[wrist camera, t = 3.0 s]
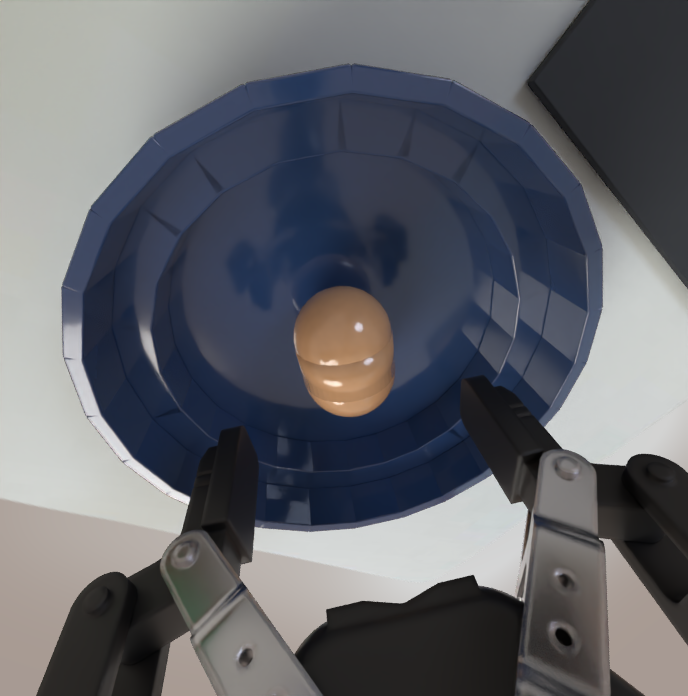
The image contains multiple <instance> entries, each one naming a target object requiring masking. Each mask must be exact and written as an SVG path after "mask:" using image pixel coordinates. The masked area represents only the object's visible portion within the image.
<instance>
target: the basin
mask: <svg viewBox="0 0 688 696" xmlns="http://www.w3.org/2000/svg"><path fill="white" fill-rule="evenodd" d="M62 285H63V286H62V287H61V290H62V336H63V357H64V361H65V363H66V366H67V368H68V371H69V374H70V376H71V379H72V381H73V384H74V387H75V389H76V392H77V394H78V397H79V400H80V402H81V405H82V407H83V410H84V413H85V415H86V416H87V418H88V420H89V421H90V422H91V423H92V425H93V426H94V427H95V428H96V430H97V431H98V432H99V434H100V435H101V436H102V437H103V439H104V440H105V441H106V442H107V444H108V445H109V446H110V447H111V449H112V450H113V451H114V452H115V454H116V455H117V456H118V458H119V459H120V460H121V461H123V463H124V464H125V465H127V466H128V467H129V468H131V469H132V470H133V471H135V472H136V473H137V474H139V475H140V476H141V477H143V478H144V479H145V480H147V481H148V482H149V483H151V484H152V485H153V486H155V487H156V488H157V489H159V490H160V491H161V492H163V493H164V494H166V495H167V496H169V497H171V498H174V499H176V500H178V501H180V502H182V503H185V504H187V505H189V501H190V497H191V494H192V490H193V488H194V482H195V478H196V477H197V475H196V474H197V470H198V466H199V462H200V460H201V458H202V457H203V456H204V454H205V453H206V451H207V450H208V448H209V447H214V446H218V441H219V436H220V432H221V430H223V429H228V428H232V427H237V426H242V425H243V426H244V427H245V428H246V430H247V433H248V435H249V437H250V440H251V442H252V444H253V446H254V449H255V451H256V453H257V457H258V462H259V476H258V489H257V502H256V515H255V527H259V528H268V529H281V530H294V531H307V532H308V531H309V532H314V531H327V530H340V529H353V528H359V527H363V526H368V525H372V524H377V523H381V522H386V521H390V520H395V519H399V518H403V517H406V516H409V515H411V514H414V513H416V512H419V511H422V510H424V509H427V508H430V507H432V506H435V505H437V504H440V503H443V502H445V501H446V500H449V499H451V498H452V497H454V496H456V495H458V494H459V493H461V492H463V491H465V490H467V489H468V488H470V487H472V486H474V485H475V484H477V483H479V482H481V481H482V480H484V479H486V478H487V477H489V476H491V475H492V474H493V473H492V471H491V469H490V468H489V466H488V465H487V463H486V461H485V460H484V458H483V456H482V455H481V453H480V451H479V450H478V448H477V446H476V445H475V443H474V441H473V440H472V438H471V436H470V435H469V433H468V431H467V430H466V428H465V426H464V424H463V422H462V419H461V415H460V392H461V381H462V379H465V378H470V377H475V376H479V375H484V376H485V377H486V378H487V379H488V380H489V381H490V383H491V384H492V385H493V386H494V387H497V386H503V387H504V388H506V389H508V390H509V391H511V392H513V393H515V395H516V396H517V397H518V398H519V399H520V400H521V402H522V403H523V404H524V406H526V407H527V408H528V410H529V411H530V412H531V414H532V415H534V417H535V418H536V419H537V420H538V421H539V422H540V423H541V425H542V426H543V427H545V426H546V424H547V423H548V422H549V421H550V420H551V419H552V418H553V416H554V415H555V414H556V413H557V412H558V411H559V410H560V408H561V407H562V405H563V403H564V401H565V400H566V398H567V396H568V394H569V393H570V391H571V389H572V387H573V386H574V384H575V382H576V380H577V379H578V377H579V375H580V373H581V372H582V370H583V368H584V366H585V365H586V362H587V360H588V357H589V353H590V350H591V346H592V343H593V340H594V336H595V333H596V329H597V326H598V322H599V319H600V315H601V312H602V307H603V249H602V244H601V241H600V238H599V235H598V232H597V229H596V226H595V223H594V220H593V217H592V214H591V211H590V209H589V206H588V203H587V200H586V197H585V194H584V191H583V188H582V185H581V184H580V183H579V181H578V180H577V178H576V177H575V176H574V175H573V174H572V172H571V171H570V170H569V169H568V167H567V166H566V165H565V164H564V163H563V161H562V160H561V159H560V158H559V157H558V155H557V154H556V153H555V152H554V151H553V149H552V148H551V147H550V146H549V145H548V143H547V142H546V141H545V140H544V138H543V137H542V136H541V135H540V134H539V132H538V131H537V130H536V129H535V128H534V126H533V125H531V124H530V123H529V122H528V121H526V120H524V119H523V118H521V117H519V116H517V115H515V114H514V113H512V112H510V111H508V110H507V109H505V108H503V107H501V106H499V105H498V104H496V103H494V102H492V101H491V100H489V99H487V98H485V97H483V96H482V95H480V94H478V93H476V92H474V91H473V90H471V89H469V88H467V87H466V86H464V85H462V84H460V83H458V82H457V81H455V80H452V81H451V79H449V78H443V77H436V76H430V75H424V74H417V73H411V72H405V71H398V70H392V69H386V68H380V67H373V66H367V65H361V64H352V65H351V64H343V65H338V66H332V67H327V68H321V69H316V70H310V71H305V72H299V73H294V74H289V75H283V76H278V77H272V78H267V79H261V80H256V81H250V82H247V83H245V85H244V84H241V85H239V86H237V87H236V88H234V89H232V90H230V91H229V92H227V93H225V94H223V95H222V96H220V97H218V98H216V99H215V100H213V101H211V102H209V103H208V104H206V105H204V106H202V107H200V108H199V109H197V110H195V111H193V112H192V113H190V114H188V115H186V116H185V117H183V118H181V119H179V120H178V121H176V122H174V123H172V124H171V125H169V126H167V127H165V128H164V129H162V130H160V131H158V132H156V133H155V134H154V135H153V136H152V137H150V138H149V139H148V140H147V141H146V143H145V144H144V145H143V146H142V147H141V148H140V150H139V151H138V152H137V153H136V154H135V155H134V157H133V158H132V159H131V160H130V161H129V162H128V164H127V165H126V166H125V167H124V168H123V169H122V171H121V172H120V173H119V174H118V175H117V176H116V178H115V179H114V180H113V181H112V182H111V183H110V185H109V186H108V187H107V188H106V189H105V190H104V192H103V193H102V194H101V195H100V196H99V197H98V199H97V200H96V201H95V202H94V203H93V204H92V206H91V209H90V210H89V211H88V214H87V217H86V220H85V222H84V225H83V228H82V231H81V233H80V236H79V239H78V242H77V245H76V247H75V250H74V253H73V256H72V258H71V261H70V264H69V267H68V270H67V272H66V275H65V278H64V281H63V284H62ZM338 285H345V286H353V287H357V288H360V289H362V290H364V291H367V292H368V293H370V294H371V295H372V296H374V297H375V298H376V299H378V301H379V302H380V303H381V305H382V306H383V307H384V308H385V310H386V312H387V314H388V316H389V319H390V322H391V327H392V334H393V345H394V356H395V366H396V370H395V381H394V384H393V387H392V390H391V392H390V394H389V395H388V397H387V398H386V400H385V401H384V402H383V403H382V404H381V405H380V406H379V407H378V408H376V409H375V410H373V411H372V412H370V413H368V414H366V415H362V416H358V417H341V416H337V415H334V414H331V413H329V412H327V411H325V410H324V409H322V408H321V407H320V406H319V405H318V404H316V403H315V401H314V400H313V399H312V398H311V396H310V394H309V393H308V391H307V388H306V386H305V383H304V379H303V376H302V372H301V369H300V365H299V362H298V358H297V355H296V351H295V347H294V341H293V329H294V323H295V320H296V317H297V315H298V313H299V311H300V309H301V307H302V306H303V304H304V303H305V302H306V301H307V300H308V299H309V298H310V297H311V296H313V295H314V294H315V293H317V292H319V291H321V290H323V289H325V288H328V287H332V286H338Z"/></svg>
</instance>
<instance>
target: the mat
mask: <svg viewBox="0 0 688 696" xmlns="http://www.w3.org/2000/svg"><path fill="white" fill-rule="evenodd" d="M527 83H528V85H529V86H530V87H531V89H532V90H533V91H534V92H535V94H536V95H537V96H538V98H539V99H540V100H541V101H542V103H543V104H544V105H545V107H546V108H547V109H548V110H549V112H550V113H551V114H552V115H553V117H554V118H555V119H556V121H557V122H558V123H559V124H560V126H561V127H562V128H563V130H564V131H565V132H566V133H567V135H568V136H569V137H570V139H571V140H572V141H573V142H574V144H575V145H576V146H577V147H578V149H579V150H580V151H581V153H582V154H583V155H584V156H585V158H586V159H587V160H588V162H589V163H590V164H591V165H592V167H593V168H594V169H595V171H596V172H597V173H598V174H599V176H600V177H601V178H602V179H603V181H604V182H605V183H606V185H607V186H608V187H609V188H610V190H611V191H612V192H613V194H614V195H615V196H616V197H617V199H618V200H619V201H620V203H621V204H622V205H623V206H624V208H625V209H626V210H627V211H628V213H629V214H630V215H631V217H632V218H633V219H634V220H635V222H636V223H637V224H638V226H639V227H640V228H641V229H642V231H643V232H644V233H645V235H646V236H647V237H648V238H649V240H650V241H651V242H652V243H653V245H654V246H655V247H656V249H657V250H658V251H659V252H660V254H661V255H662V256H663V258H664V259H665V260H666V261H667V263H668V264H669V265H670V267H671V268H672V269H673V270H674V272H675V273H676V274H677V275H678V277H679V278H680V279H681V281H682V282H683V283H684V284H685V286H686V287H687V288H688V0H590V1H589V2H588V4H587V5H586V6H585V8H584V9H583V10H582V12H581V13H580V14H579V15H578V17H577V18H576V19H575V21H574V22H573V23H572V24H571V26H570V27H569V28H568V30H567V31H566V32H565V34H564V35H563V36H562V37H561V39H560V40H559V41H558V43H557V44H556V45H555V46H554V48H553V49H552V50H551V52H550V53H549V54H548V56H547V57H546V58H545V59H544V61H543V62H542V63H541V65H540V66H539V67H538V68H537V70H536V71H535V72H534V74H533V75H532V76H531V78H530V79H529V80H528V81H527Z"/></svg>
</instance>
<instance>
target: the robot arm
mask: <svg viewBox="0 0 688 696" xmlns="http://www.w3.org/2000/svg"><path fill="white" fill-rule="evenodd" d="M460 415H461V419H462V422H463V424H464V426H465V428H466V430H467V431H468V433H469V435H470V436H471V438H472V440H473V441H474V443H475V445H476V446H477V448H478V450H479V451H480V453H481V455H482V456H483V458H484V460H485V461H486V463H487V465H488V466H489V468H490V469H491V471H492V473H493V474H494V476H495V478H496V479H497V481H498V483H499V484H500V486H501V488H502V489H503V491H504V493H505V494H506V496H507V498H508V499H509V501H510V503H511V504H513V503H517V502H522V501H523V502H524V504H525V505H526V507H527V509H528V512H527V517H526V525H525V533H524V540H523V547H522V555H521V562H520V569H519V574H518V580H517V586H516V591H515V597H513V596H511V595H509V594H507V593H505V592H502V591H499V590H496V589H493V588H489V587H484V586H478V584H477V582H476V579H475V577H474V575H471V576H467V577H463V578H459V579H454V580H450V581H446V582H441V583H438V584H436V585H434V586H432V587H431V588H429V589H427V590H426V591H424V592H422V593H421V594H419V595H418V596H416V597H414V598H412V599H411V600H409V601H407V602H405V603H401V604H399V603H385V602H384V603H383V602H371V601H360V602H356V603H352V604H348V605H343V606H339V607H335V608H331V609H327V610H326V613H327V622H325V623H324V624H322V625H321V626H319V627H318V628H317V629H316V630H314V631H313V632H312V633H311V634H310V635H309V636H308V637H307V638H306V639H305V640H304V642H303V643H302V644H301V645H300V647H299V648H298V650H297V651H296V653H295V654H293V652H292V651H291V649H290V648H289V647H288V645H287V644H286V642H285V641H284V640H283V638H282V637H281V635H280V634H279V633H278V631H277V630H276V628H275V627H274V625H273V624H272V623H271V621H270V620H269V619H268V617H267V616H266V614H265V613H264V611H263V610H262V609H261V607H260V606H259V604H258V603H257V601H256V600H255V599H254V597H253V596H252V594H251V593H250V592H249V590H248V589H247V587H246V586H245V585H244V584H243V582H242V581H241V579H240V578H239V576H240V566H241V564H245V563H249V562H252V553H253V540H254V527H255V515H256V502H257V489H258V476H259V462H258V457H257V453H256V451H255V449H254V446H253V444H252V442H251V440H250V437H249V435H248V433H247V430H246V428H245V427H244V426H243V425H242V426H237V427H232V428H228V429H223V430H221V432H220V436H219V441H218V446H214V447H209V448H208V450H207V451H206V453H205V454H204V456H203V457H202V458H201V460H200V462H199V466H198V470H197V474H196V475H197V477H196V478H195V482H194V488H193V490H192V494H191V497H190V501H189V505H188V509H187V513H186V517H185V521H184V525H183V529H182V532H181V535H180V536H179V537H177V538H176V539H175V540H174V541H172V543H171V544H170V545H169V546H168V547H167V549H166V550H165V552H164V554H163V556H162V558H161V559H160V560H158V561H157V562H155V563H154V564H152V565H150V566H148V567H146V568H144V569H143V570H141V571H139V572H137V573H135V574H134V575H132V576H130V577H128V578H127V577H126V576H125V575H124V574H122V573H120V572H110V573H107V574H104V575H102V576H100V577H98V578H97V579H95V580H94V581H92V582H91V583H90V584H89V585H88V586H87V587H86V588H85V589H84V590H83V591H82V592H81V593H80V594H79V596H78V597H77V599H76V600H75V602H74V603H73V605H72V607H71V609H70V612H69V614H68V617H67V620H66V622H65V625H64V627H63V630H62V632H61V635H60V637H59V640H58V642H57V645H56V647H55V650H54V652H53V655H52V657H51V660H50V662H49V665H48V667H47V670H46V673H45V675H44V677H43V680H42V682H41V685H40V687H39V690H38V692H37V695H36V696H161V693H162V687H163V682H164V676H165V670H166V664H167V659H168V653H169V648H170V642H172V641H173V640H175V639H177V638H178V637H180V636H182V635H183V634H185V633H186V632H188V631H190V632H191V635H192V636H191V638H190V640H191V643H192V646H193V648H194V650H195V652H196V654H197V656H198V658H199V660H200V662H201V664H202V666H203V668H204V670H205V672H206V674H207V676H208V678H209V680H210V682H211V684H212V686H213V688H214V690H215V692H216V694H217V696H645V695H643V694H642V693H641V692H639V691H638V690H637V689H636V688H634V687H633V686H632V685H630V684H629V683H628V682H626V681H625V680H624V679H623V678H621V677H620V676H619V675H617V674H616V673H615V672H613V671H612V670H611V669H610V665H609V664H610V662H609V636H608V610H607V585H606V558H605V547H604V543H603V541H601V540H599V538H605V539H611V540H612V541H613V543H614V544H615V546H616V547H617V548H618V550H619V551H620V553H621V554H622V555H623V557H624V558H625V559H626V561H627V562H628V564H629V565H630V566H631V568H632V569H633V570H634V572H635V573H636V575H637V576H638V577H639V579H640V580H641V582H642V583H643V584H644V586H645V587H646V588H647V590H648V591H649V592H650V594H651V595H652V597H653V598H654V599H655V601H656V602H657V604H658V605H659V606H660V608H661V609H662V611H663V612H664V613H665V615H666V616H667V617H668V619H669V620H670V622H671V623H672V624H673V626H674V627H675V628H676V630H677V631H678V633H679V634H680V635H681V637H682V638H683V640H684V641H685V642H686V644H687V645H688V473H687V472H686V471H685V470H684V469H683V468H682V467H680V466H679V465H677V464H676V463H674V462H672V461H670V460H668V459H666V458H663V457H660V456H657V455H652V454H638V455H635V456H633V457H631V458H630V459H629V461H628V463H627V464H626V466H619V465H603V464H593V463H590V462H589V461H587V460H586V459H585V458H584V457H582V456H581V455H579V454H577V453H575V452H572V451H569V450H564V449H562V448H561V447H560V445H559V444H558V443H557V442H556V441H555V440H554V439H553V437H552V436H551V435H550V434H549V433H548V432H547V430H546V429H545V428H544V427H543V426H542V425H541V423H540V422H539V421H538V420H537V419H536V418H535V417H534V415H532V414H531V412H530V411H529V410H528V408H527V407H526V406H524V404H523V403H522V402H521V400H520V399H519V398H518V397H517V396H516V395H515V393H513V392H511V391H509V390H508V389H506V388H504V387H503V386H497V387H494V386H493V385H492V384H491V383H490V381H489V380H488V379H487V378H486V377H485V376H484V375H479V376H475V377H470V378H465V379H462V381H461V392H460Z"/></svg>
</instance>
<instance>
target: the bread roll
mask: <svg viewBox="0 0 688 696" xmlns="http://www.w3.org/2000/svg"><path fill="white" fill-rule="evenodd" d="M293 341H294V347H295V351H296V355H297V358H298V362H299V365H300V369H301V372H302V376H303V379H304V383H305V386H306V388H307V391H308V393H309V394H310V396H311V398H312V399H313V400H314V401H315V403H316V404H318V405H319V406H320V407H321V408H322V409H324V410H325V411H327V412H329V413H331V414H334V415H337V416H341V417H358V416H362V415H366V414H368V413H370V412H372V411H373V410H375V409H376V408H378V407H379V406H380V405H381V404H382V403H383V402H384V401H385V400H386V398H387V397H388V395H389V394H390V392H391V390H392V387H393V384H394V381H395V370H396V366H395V356H394V345H393V334H392V327H391V322H390V319H389V316H388V314H387V312H386V310H385V308H384V307H383V306H382V305H381V303H380V302H379V301H378V299H376V298H375V297H374V296H372V295H371V294H370V293H368V292H367V291H364V290H362V289H360V288H357V287H353V286H345V285H338V286H332V287H328V288H325V289H323V290H321V291H319V292H317V293H315V294H314V295H313V296H311V297H310V298H309V299H308V300H307V301H306V302H305V303H304V304H303V306H302V307H301V309H300V311H299V313H298V315H297V317H296V320H295V323H294V329H293Z"/></svg>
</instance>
